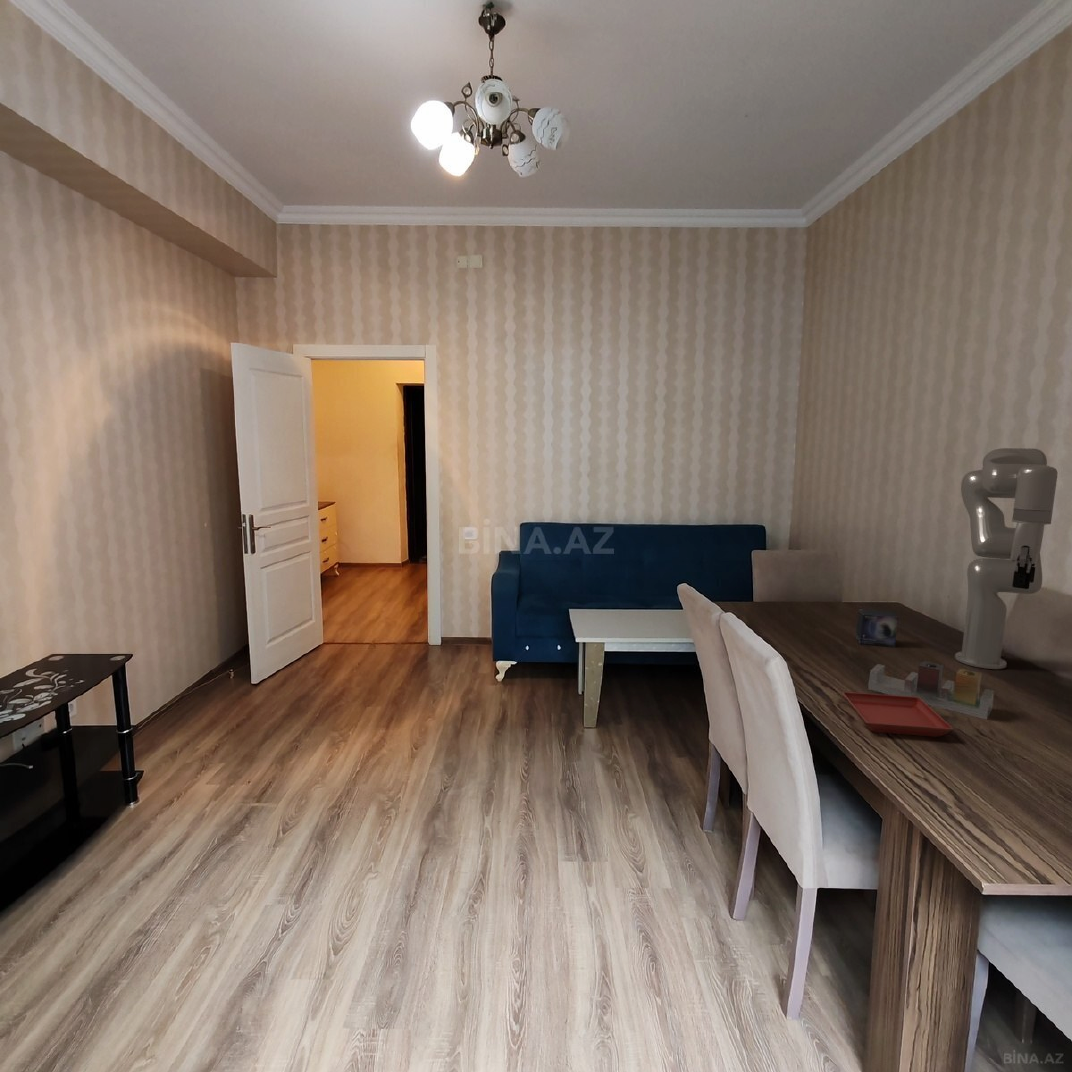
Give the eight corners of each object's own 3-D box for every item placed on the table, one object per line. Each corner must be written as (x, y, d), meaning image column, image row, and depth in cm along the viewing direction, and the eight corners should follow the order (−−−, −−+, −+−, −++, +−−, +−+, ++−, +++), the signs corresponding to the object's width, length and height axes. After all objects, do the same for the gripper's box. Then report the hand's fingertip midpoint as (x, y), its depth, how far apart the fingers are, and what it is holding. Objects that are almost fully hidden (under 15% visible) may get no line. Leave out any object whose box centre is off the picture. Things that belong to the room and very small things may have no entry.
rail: (876, 680, 170) (878, 663, 170) (992, 709, 153) (994, 690, 152) (867, 689, 165) (869, 671, 164) (986, 719, 147) (989, 699, 146)
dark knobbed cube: (920, 686, 161) (923, 660, 160) (940, 691, 158) (943, 664, 157) (916, 691, 158) (919, 664, 157) (936, 696, 155) (939, 669, 154)
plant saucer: (840, 703, 157) (841, 690, 156) (917, 708, 154) (919, 696, 153) (865, 736, 139) (866, 722, 139) (953, 743, 136) (954, 729, 136)
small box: (859, 645, 200) (862, 614, 199) (854, 639, 206) (857, 608, 205) (895, 648, 198) (899, 616, 196) (889, 641, 204) (892, 611, 202)
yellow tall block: (957, 694, 156) (960, 667, 155) (978, 700, 153) (981, 672, 152) (953, 700, 153) (956, 672, 152) (975, 705, 150) (978, 677, 149)
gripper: (1017, 512, 160) (1009, 577, 162) (1007, 518, 147) (999, 588, 150) (1054, 515, 155) (1045, 581, 157) (1048, 521, 142) (1038, 593, 145)
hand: (1022, 584), depth 154 cm, fingers open, 9 cm apart
